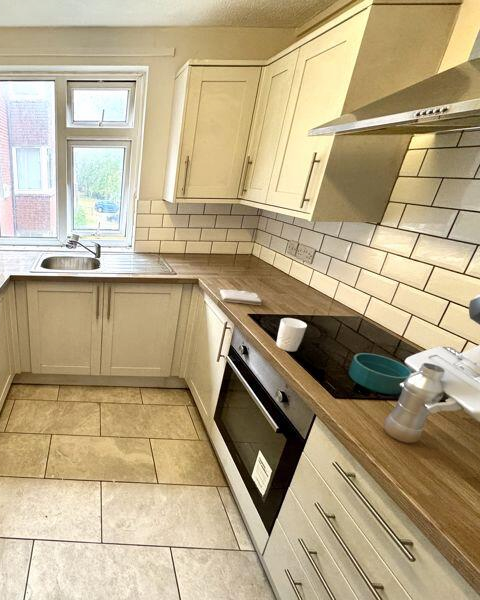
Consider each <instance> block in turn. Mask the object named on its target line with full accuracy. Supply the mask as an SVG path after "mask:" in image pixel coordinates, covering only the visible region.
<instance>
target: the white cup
mask: <svg viewBox="0 0 480 600" xmlns="http://www.w3.org/2000/svg"><path fill="white" fill-rule="evenodd" d="M307 327H308V325H307V323H306V322H304V321H302V320H300V319H297V318H292V317H284V318H281V319H280V322H279V327H278V332H277V338H276V342H275V346H276V347H277V348H278V349H281V350H283V351H287V352H297V351H298V350H299V347H300V345H301V343H302V340H303V338H304V335H305V332H306V330H307Z"/></svg>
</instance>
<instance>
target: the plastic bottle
mask: <svg viewBox="0 0 480 600" xmlns="http://www.w3.org/2000/svg"><path fill="white" fill-rule="evenodd" d="M444 374H445V369H443V368H442V367H440V366H437V365H434V364H430V363H423V364H422V366H421V368H420V369H419V373H417V374H414V375H412V376H409V377H408V378H407V379H406V380H405V381H404V384H403V388H402V392H401V393H400V394H399V397H398V400H397V403H396V405H395V406H394V408H393V409H392V411H391V412H390V413H389V414H388V415H387V417H386V418H385V419H384V422H383V428H384V431H385V433H386V434H388V435H389V436H390V437H392V438H393V439H395V440H397V441H399V442H402V443H405V444H406V443H407V444H412V443H416V442H418V441H419V439H421V437H422V435H423V431H424V426H425V424H426V421H427V419H428V417H429V415H430V414H431V413H430V412H429V411H428V410H427V409H426V408H425V407H424V406H423V405H424V404H425V403H429V402H434V403H440V402H441V400H442V398H443V397H445V396H444V392H443V385H442V383H441V381H440V380H441V379H443V377H444Z"/></svg>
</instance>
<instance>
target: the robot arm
mask: <svg viewBox="0 0 480 600" xmlns="http://www.w3.org/2000/svg"><path fill="white" fill-rule="evenodd" d="M468 315H469V319H470V320H472V321H473V322H475V323H476V324H478V325H479V326H480V293H479V294H477V295H475V297H473V298H472V299H471V300H470V301H469V304H468ZM423 363H430V364H434V365H437V366H440V367H442V368H443V369H445V374H444V377H443V379H441V380H440V381H441V383H442V385H443V392H444V396H443V397H445V398H447V399H445V400H444V401H443V402H438V403H434V402H429V403H425V404H424V405H423V406H424V407H425V408H426V409H427V410H428V411H429V412H430V413H429V414H436V413H440V412H457V411H459V410H462V411H463V412H465V413H467V414H468V415H469V416H470V417H472V418H473V419H474V420H476V421H477V422H478V423H480V344H478V345H477V346H474V347H471V348H470V349H467V350H465V351H463V352H460V351H458V350H456V349H455V348H454V347H451V346H437V347H433V348H430V349H429V348H428V349H426V350H423V351H420V352H417V353H415V354H412V355H410V356H408V357H406V358H405V360H404V364H405V366H406V367H408V368H409V369H410V370H411V371H412V374H411V375H410V376H412V375H414V374H417V373H419V369H420V368H421V366H422V364H423ZM403 384H404V382H403V383H401V384H400V386H401V387H402V388H403Z"/></svg>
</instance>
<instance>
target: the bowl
mask: <svg viewBox="0 0 480 600" xmlns="http://www.w3.org/2000/svg"><path fill="white" fill-rule="evenodd" d="M347 373H348V376H349V377H350V378H351V379H352V380H353V382H355V383H357V384H359V385H360V386H362V387H364V388H366V389H368V390H371V391H373V392H377V393H380V394H385V395H401V392H402V387H401V386H400V384H401V383H403V382H404V381H405V380H406V379H407V378H408V377H409V376H410V375H411V374H412V373H413V371H412V370H410V368H409V367H408V366H407V365H406V364H403V363H401V362H399V361H397V360H395V359H393V358H390V357H387V356H384V355H380V354H375V353H369V352H360V353H356V354H355V355H354V356H353V358H352V360H351V363H350V364H349V368H348V372H347Z"/></svg>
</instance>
